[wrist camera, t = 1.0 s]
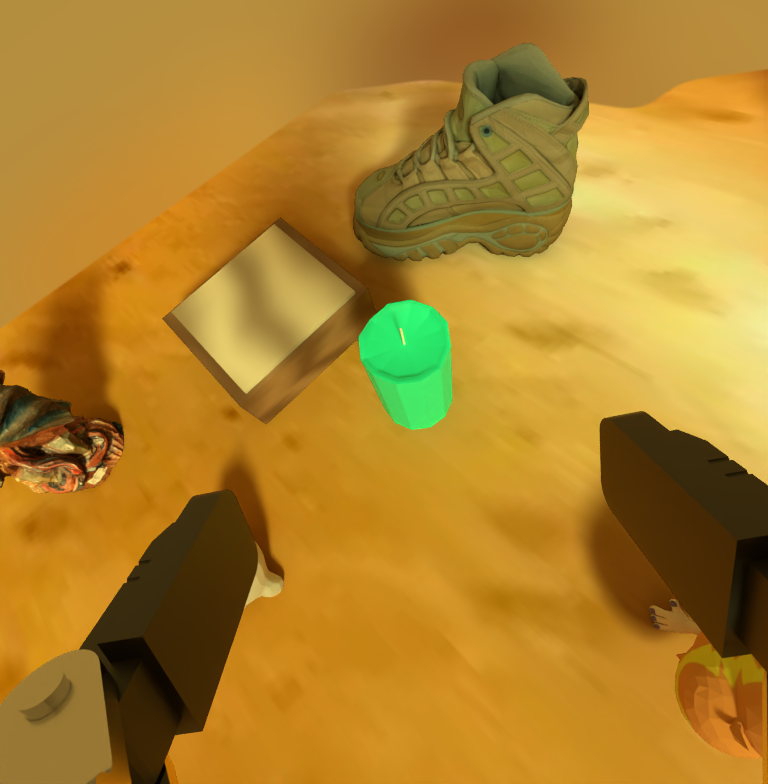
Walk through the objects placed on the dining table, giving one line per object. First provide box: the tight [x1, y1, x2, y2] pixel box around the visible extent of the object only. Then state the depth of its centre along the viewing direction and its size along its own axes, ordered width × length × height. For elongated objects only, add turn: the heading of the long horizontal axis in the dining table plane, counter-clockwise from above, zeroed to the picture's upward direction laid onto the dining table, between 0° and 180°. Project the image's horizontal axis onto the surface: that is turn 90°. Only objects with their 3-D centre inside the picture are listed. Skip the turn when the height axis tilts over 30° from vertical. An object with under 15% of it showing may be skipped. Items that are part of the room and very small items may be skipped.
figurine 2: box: [244, 541, 284, 609], centre depth 32 cm, size 8×6×8 cm
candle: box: [359, 300, 452, 430], centre depth 32 cm, size 6×6×12 cm
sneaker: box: [353, 43, 589, 261], centre depth 36 cm, size 11×19×15 cm, turn 69°
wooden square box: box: [162, 217, 376, 424], centre depth 39 cm, size 14×12×5 cm
